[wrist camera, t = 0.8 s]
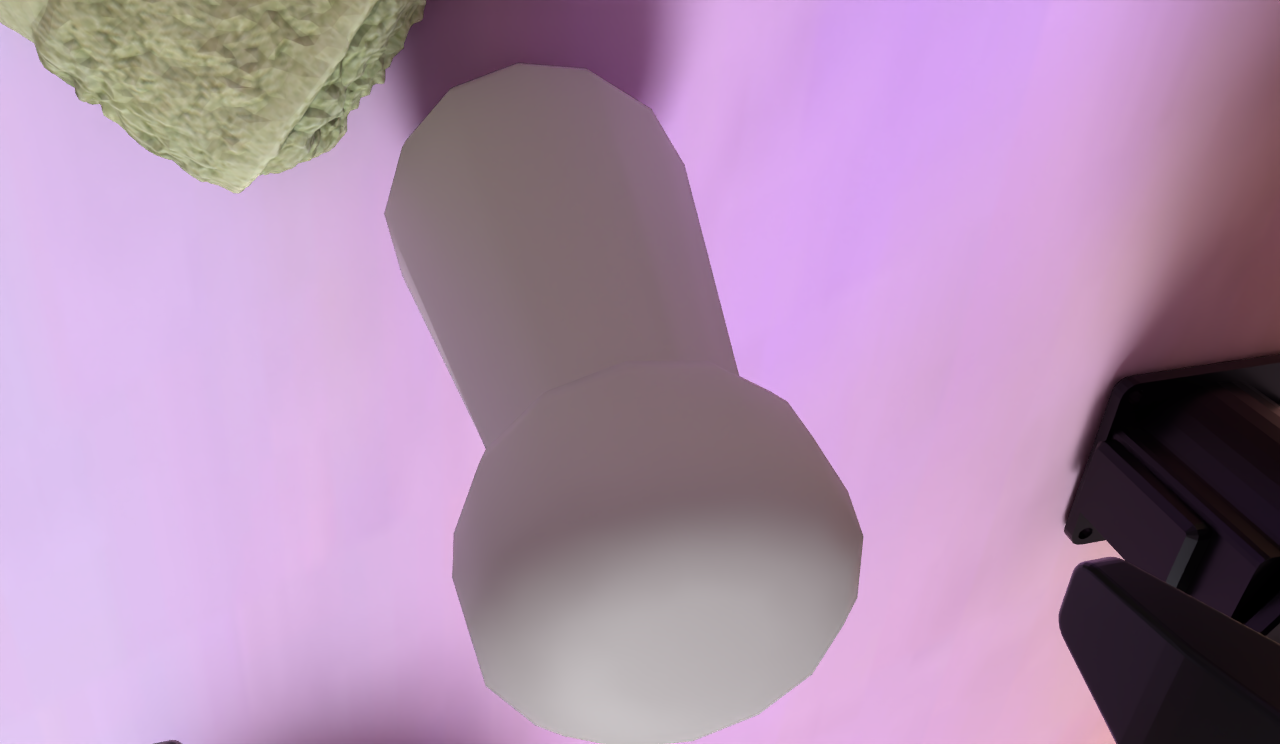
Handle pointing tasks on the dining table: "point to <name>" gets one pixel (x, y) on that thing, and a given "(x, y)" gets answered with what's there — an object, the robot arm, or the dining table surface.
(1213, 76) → the dining table surface
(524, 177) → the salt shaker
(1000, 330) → the dining table surface
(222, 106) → the washcloth
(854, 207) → the dining table surface
